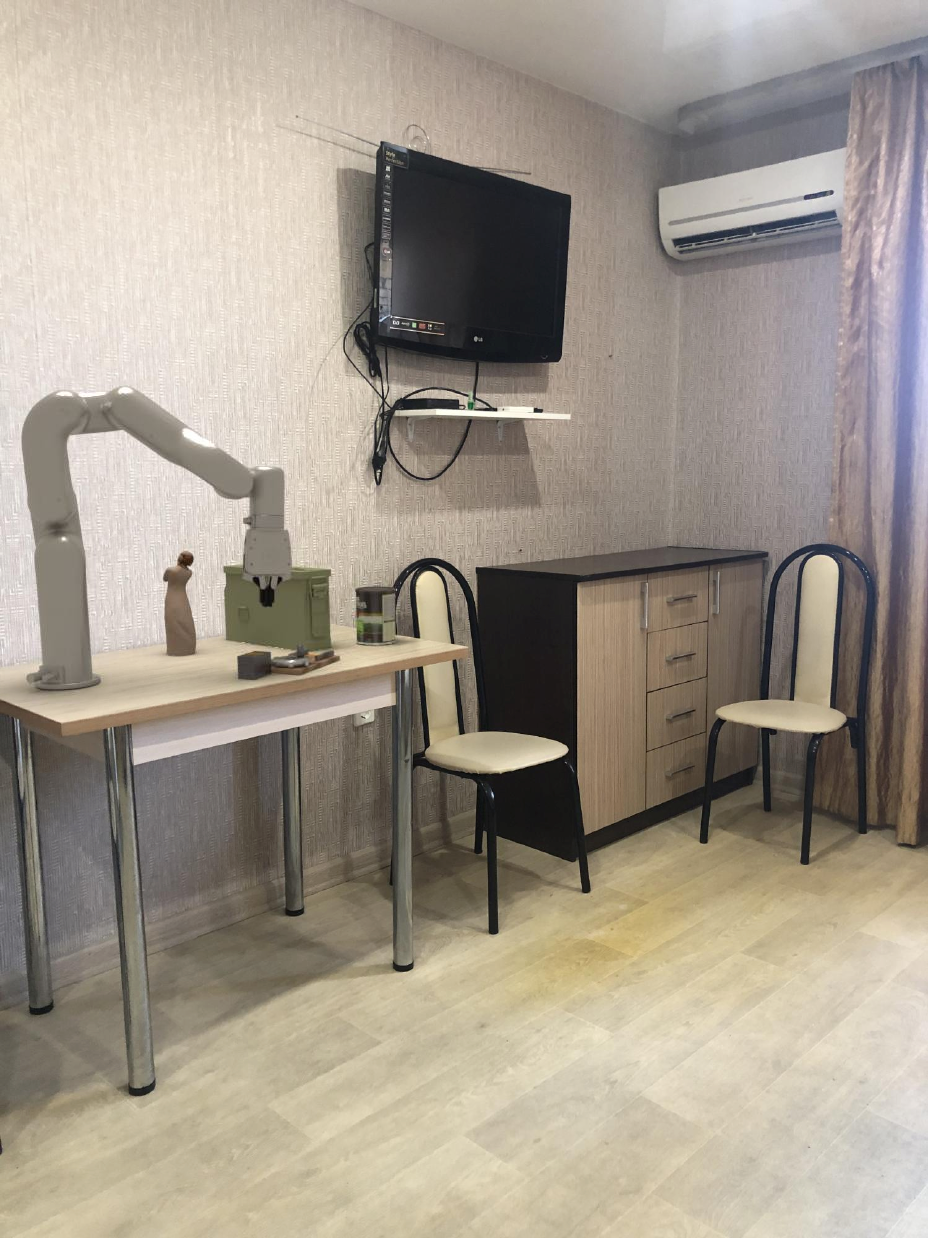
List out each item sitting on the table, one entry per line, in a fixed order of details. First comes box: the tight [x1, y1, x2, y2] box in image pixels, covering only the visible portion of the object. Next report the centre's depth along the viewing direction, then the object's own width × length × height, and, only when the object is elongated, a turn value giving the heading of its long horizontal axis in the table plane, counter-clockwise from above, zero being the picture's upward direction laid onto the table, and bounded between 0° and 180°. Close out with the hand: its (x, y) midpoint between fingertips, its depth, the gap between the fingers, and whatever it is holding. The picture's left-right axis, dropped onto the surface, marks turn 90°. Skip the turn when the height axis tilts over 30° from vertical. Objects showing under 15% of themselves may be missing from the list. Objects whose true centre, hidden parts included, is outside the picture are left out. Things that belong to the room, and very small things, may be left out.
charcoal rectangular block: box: [236, 650, 273, 681], centre depth 213 cm, size 7×4×5 cm, turn 160°
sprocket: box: [271, 644, 313, 667], centre depth 220 cm, size 10×10×4 cm
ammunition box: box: [222, 563, 333, 653], centre depth 254 cm, size 10×33×20 cm, turn 51°
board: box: [271, 649, 341, 676], centre depth 225 cm, size 19×11×2 cm, turn 160°
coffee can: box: [354, 586, 397, 646], centre depth 255 cm, size 10×10×14 cm
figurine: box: [162, 550, 197, 657], centre depth 241 cm, size 8×8×25 cm
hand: (266, 606), depth 219 cm, fingers closed
